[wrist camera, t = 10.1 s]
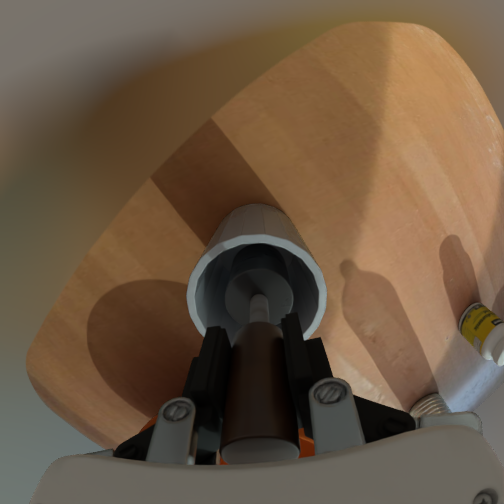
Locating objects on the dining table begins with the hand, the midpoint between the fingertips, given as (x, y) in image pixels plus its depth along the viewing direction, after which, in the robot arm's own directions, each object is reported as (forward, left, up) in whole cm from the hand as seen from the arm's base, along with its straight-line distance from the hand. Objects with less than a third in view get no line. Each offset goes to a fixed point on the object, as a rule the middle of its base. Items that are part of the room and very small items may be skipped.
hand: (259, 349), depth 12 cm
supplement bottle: (+32, +8, -17) cm, 37 cm away
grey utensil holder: (0, 0, -17) cm, 17 cm away
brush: (0, 0, -10) cm, 10 cm away
